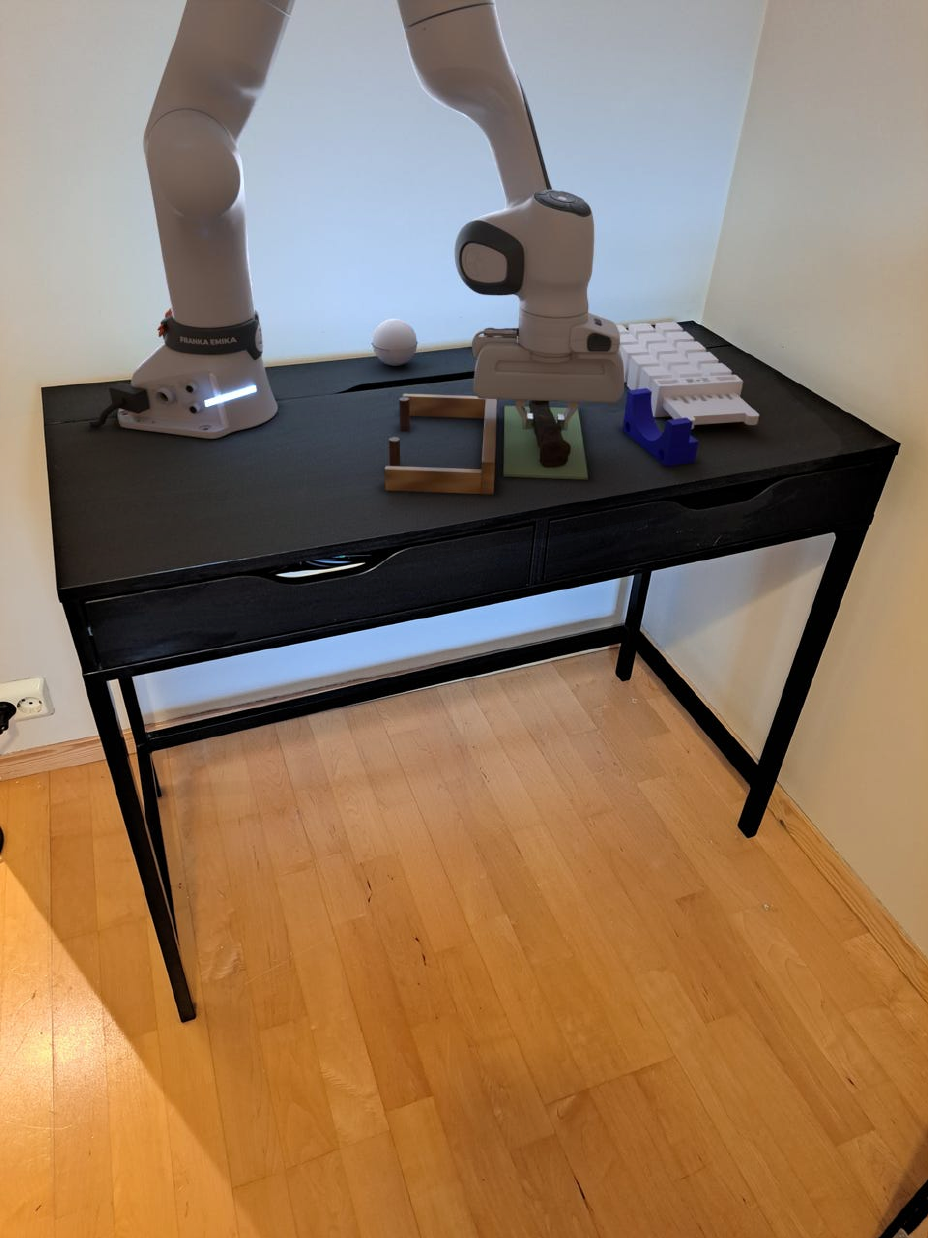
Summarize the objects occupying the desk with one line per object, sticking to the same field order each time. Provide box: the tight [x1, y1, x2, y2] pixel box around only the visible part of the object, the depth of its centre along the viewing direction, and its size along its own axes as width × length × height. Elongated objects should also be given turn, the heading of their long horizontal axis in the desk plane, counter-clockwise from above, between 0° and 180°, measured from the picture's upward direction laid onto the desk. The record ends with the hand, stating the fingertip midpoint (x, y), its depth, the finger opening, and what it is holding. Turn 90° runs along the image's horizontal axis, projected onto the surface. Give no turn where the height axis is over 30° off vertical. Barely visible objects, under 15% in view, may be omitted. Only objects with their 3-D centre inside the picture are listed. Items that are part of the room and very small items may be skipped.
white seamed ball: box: [371, 318, 420, 367], centre depth 145 cm, size 10×7×7 cm
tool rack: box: [384, 393, 498, 495], centre depth 122 cm, size 14×24×4 cm, turn 178°
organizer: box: [615, 321, 760, 430], centre depth 140 cm, size 13×5×35 cm
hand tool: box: [528, 400, 571, 468], centre depth 125 cm, size 19×4×5 cm, turn 3°
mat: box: [502, 405, 589, 481], centre depth 126 cm, size 11×22×1 cm, turn 178°
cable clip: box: [622, 388, 699, 467], centre depth 124 cm, size 12×4×6 cm, turn 21°
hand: (544, 428), depth 125 cm, fingers closed on hand tool, 3 cm apart
